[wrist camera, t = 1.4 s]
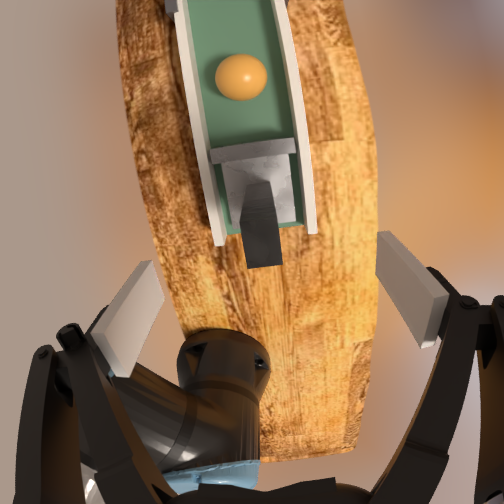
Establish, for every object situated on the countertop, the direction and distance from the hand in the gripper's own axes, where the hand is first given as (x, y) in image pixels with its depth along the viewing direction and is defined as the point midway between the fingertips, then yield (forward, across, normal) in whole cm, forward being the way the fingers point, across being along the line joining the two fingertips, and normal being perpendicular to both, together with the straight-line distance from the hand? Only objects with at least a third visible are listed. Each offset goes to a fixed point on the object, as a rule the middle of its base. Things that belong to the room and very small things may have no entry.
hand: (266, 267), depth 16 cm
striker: (+17, 0, -1) cm, 17 cm away
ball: (+14, 0, -13) cm, 19 cm away
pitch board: (+18, 0, -14) cm, 23 cm away
